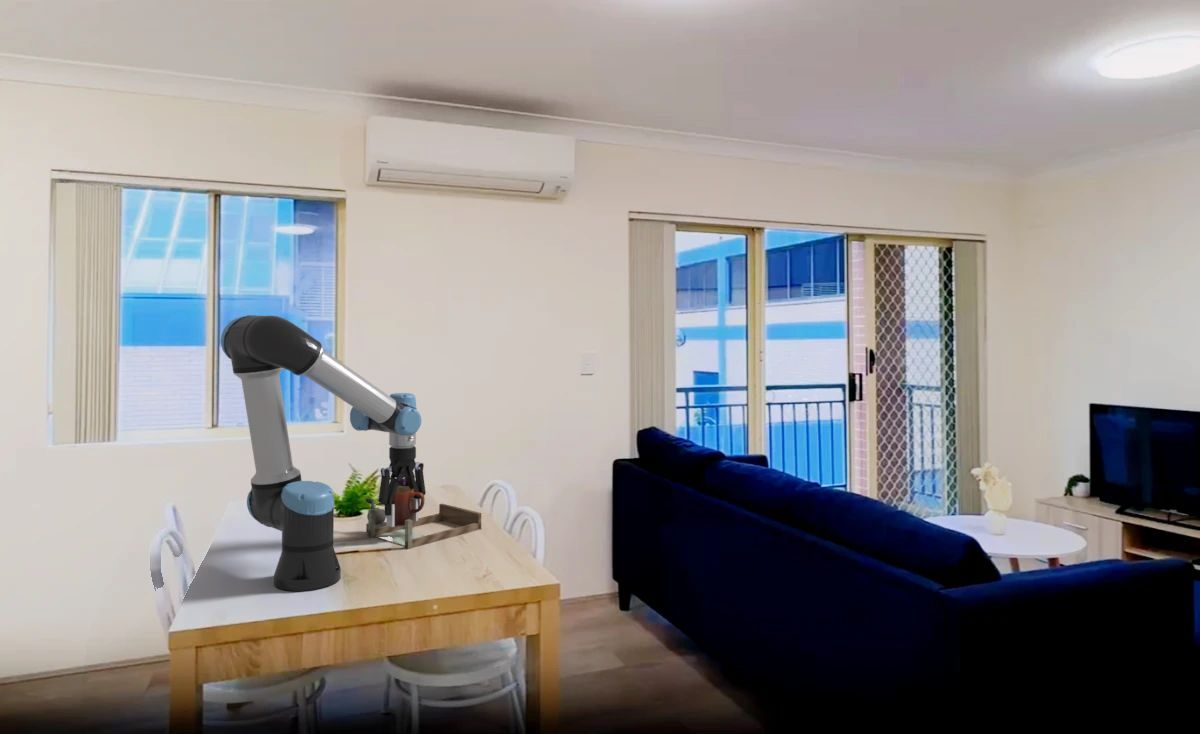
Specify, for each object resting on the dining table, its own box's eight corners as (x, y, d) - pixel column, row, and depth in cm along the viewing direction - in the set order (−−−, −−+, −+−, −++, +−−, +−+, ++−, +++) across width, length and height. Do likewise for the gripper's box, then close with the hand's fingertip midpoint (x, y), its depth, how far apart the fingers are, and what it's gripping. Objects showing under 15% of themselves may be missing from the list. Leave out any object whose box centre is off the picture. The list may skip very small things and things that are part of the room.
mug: (379, 527, 210) (378, 492, 210) (391, 519, 219) (390, 485, 218) (419, 529, 209) (418, 494, 208) (429, 520, 218) (429, 486, 217)
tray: (408, 549, 204) (408, 514, 204) (355, 532, 219) (356, 500, 219) (481, 528, 226) (481, 497, 226) (429, 515, 241) (429, 485, 241)
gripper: (380, 452, 202) (380, 532, 203) (438, 443, 218) (438, 518, 219) (364, 448, 206) (364, 528, 208) (422, 440, 223) (422, 514, 224)
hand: (402, 522), depth 213 cm, fingers closed on mug, 8 cm apart
